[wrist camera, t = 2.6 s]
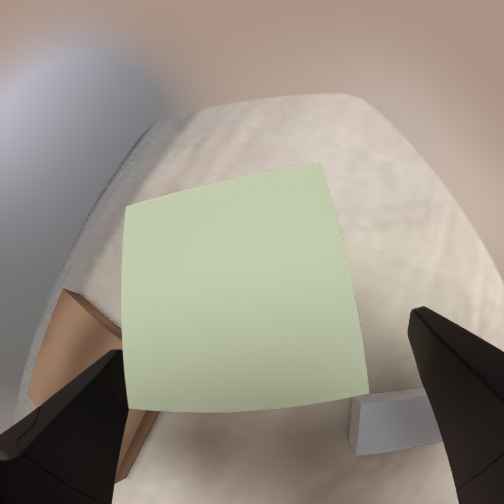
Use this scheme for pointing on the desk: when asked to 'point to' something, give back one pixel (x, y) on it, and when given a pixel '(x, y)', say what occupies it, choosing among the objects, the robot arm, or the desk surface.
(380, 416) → the gray metal brick
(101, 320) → the walnut board
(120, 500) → the desk surface
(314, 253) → the green block
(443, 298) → the desk surface
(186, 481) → the desk surface
